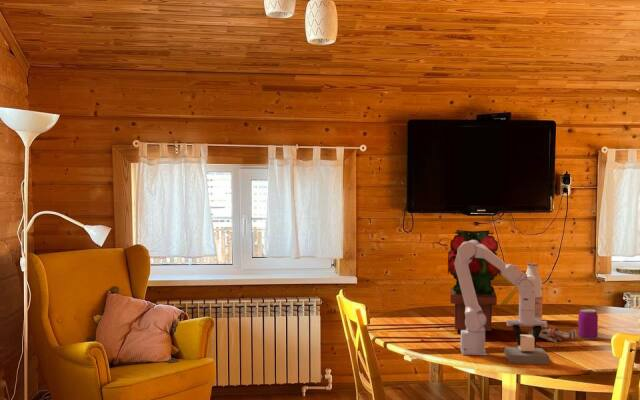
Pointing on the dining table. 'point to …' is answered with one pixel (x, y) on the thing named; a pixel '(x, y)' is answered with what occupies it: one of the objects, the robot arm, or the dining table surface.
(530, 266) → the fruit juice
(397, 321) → the dining table surface
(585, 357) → the dining table surface
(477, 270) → the potted plant
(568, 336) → the figurine
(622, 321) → the dining table surface
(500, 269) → the robot arm
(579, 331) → the beverage can
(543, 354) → the plinth
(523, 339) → the cube
